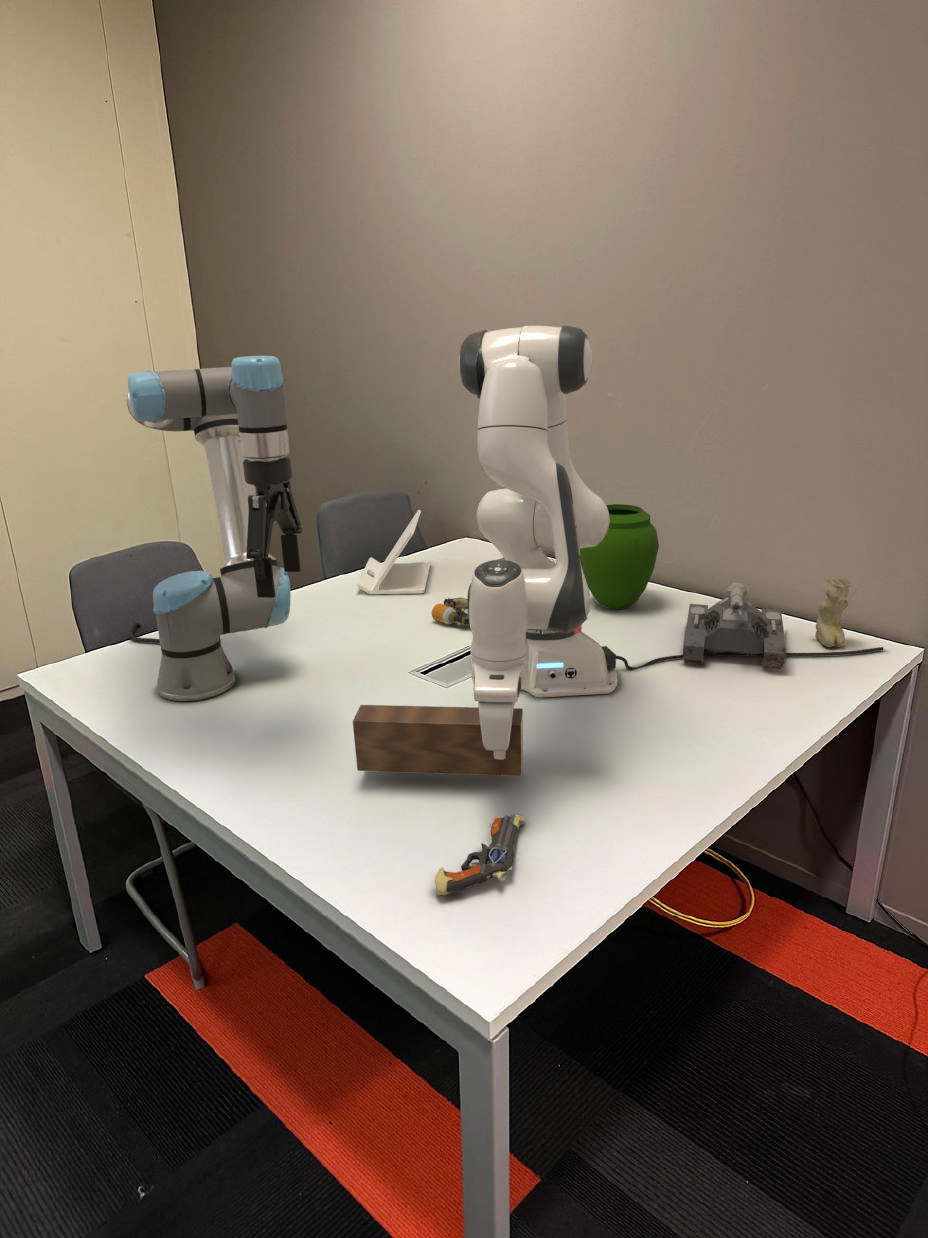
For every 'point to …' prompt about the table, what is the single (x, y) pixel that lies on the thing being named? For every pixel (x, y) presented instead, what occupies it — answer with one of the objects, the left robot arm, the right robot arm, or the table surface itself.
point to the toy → (735, 630)
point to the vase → (621, 558)
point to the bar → (431, 741)
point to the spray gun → (452, 611)
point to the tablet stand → (396, 570)
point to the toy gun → (484, 858)
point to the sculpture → (832, 613)
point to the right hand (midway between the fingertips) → (501, 745)
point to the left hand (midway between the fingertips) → (280, 583)
